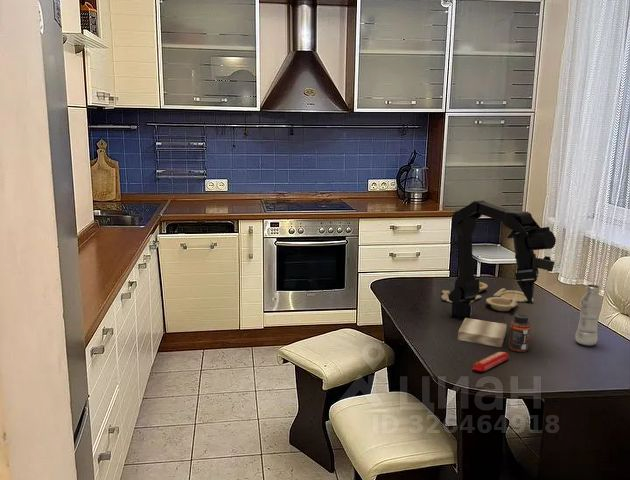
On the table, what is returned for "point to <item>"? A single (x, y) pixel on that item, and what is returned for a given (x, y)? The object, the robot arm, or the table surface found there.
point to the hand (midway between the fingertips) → (530, 299)
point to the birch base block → (482, 332)
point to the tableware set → (497, 298)
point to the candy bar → (490, 361)
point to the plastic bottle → (589, 316)
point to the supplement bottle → (519, 333)
